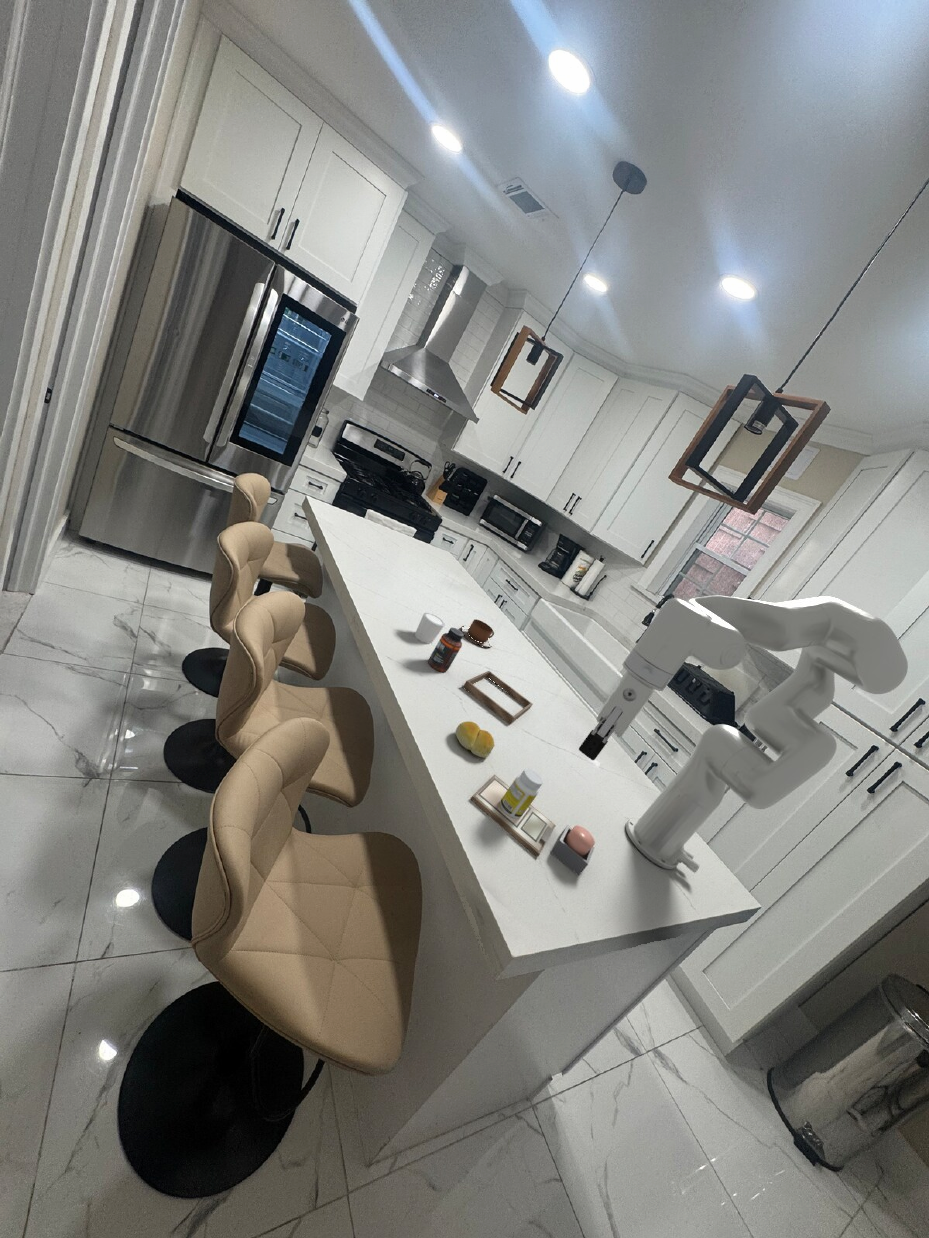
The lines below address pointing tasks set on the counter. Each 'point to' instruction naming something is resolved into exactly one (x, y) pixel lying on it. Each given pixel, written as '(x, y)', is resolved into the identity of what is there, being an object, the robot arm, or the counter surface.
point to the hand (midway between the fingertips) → (586, 753)
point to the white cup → (429, 628)
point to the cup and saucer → (479, 632)
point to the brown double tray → (526, 829)
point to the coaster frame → (492, 704)
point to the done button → (580, 840)
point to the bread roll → (475, 739)
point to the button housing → (570, 853)
